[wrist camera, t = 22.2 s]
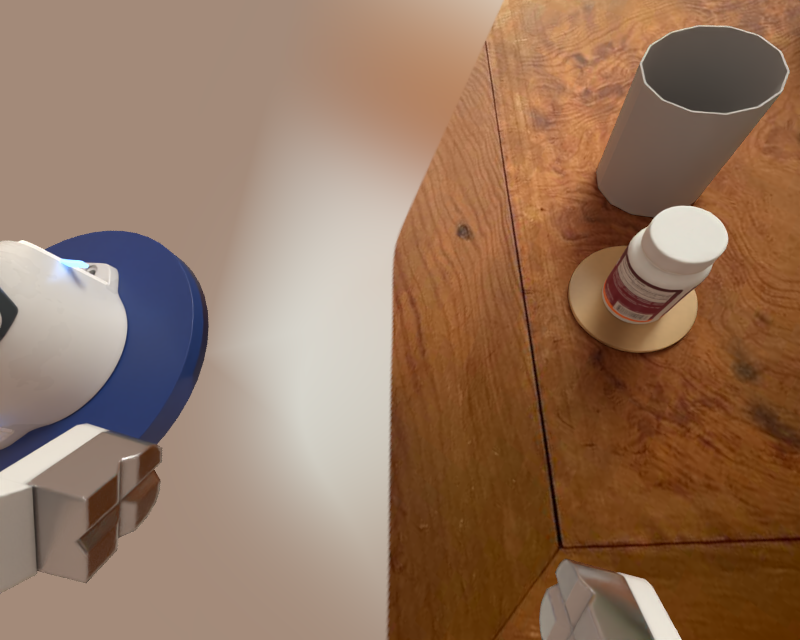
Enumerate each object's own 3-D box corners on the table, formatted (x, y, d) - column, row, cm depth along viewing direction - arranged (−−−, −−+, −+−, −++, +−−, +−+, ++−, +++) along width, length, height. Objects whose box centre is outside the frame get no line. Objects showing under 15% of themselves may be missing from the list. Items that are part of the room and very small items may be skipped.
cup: (705, 147, 35) (788, 27, 26) (699, 224, 32) (791, 120, 23) (602, 137, 37) (646, 23, 28) (589, 208, 34) (633, 107, 25)
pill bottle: (644, 261, 31) (702, 188, 24) (681, 312, 29) (756, 250, 22) (588, 282, 31) (626, 216, 24) (620, 334, 29) (674, 281, 22)
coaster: (558, 335, 30) (559, 333, 30) (578, 239, 33) (579, 236, 33) (689, 367, 28) (692, 365, 28) (699, 260, 31) (702, 257, 31)
